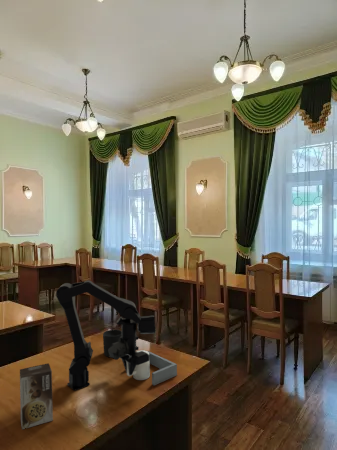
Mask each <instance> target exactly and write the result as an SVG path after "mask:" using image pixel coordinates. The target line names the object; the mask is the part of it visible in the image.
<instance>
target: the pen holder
mask: <svg viewBox="0 0 337 450" xmlns="http://www.w3.org/2000/svg"><path fill="white" fill-rule="evenodd" d="M119 337H122V330H119V329H109V330H105V331H104V332H103V333H102V343H103V345H102V346H103V354H104V356H105V357H108V358H111V357H110V354H109V352H108V349H109V348H110V346H111V344H113V343H116V342H119Z"/></svg>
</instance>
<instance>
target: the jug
mask: <svg viewBox="0 0 337 450" xmlns="http://www.w3.org/2000/svg"><path fill="white" fill-rule="evenodd" d="M140 351H143V352H145V353H147V354H148V355H149V352H150V351H149V350H148V351H149V352H148V351H147V350H144V349H143V350H136V352H140ZM126 364H127V373H126V376H128V377H132V376H133V379H135V380H137V381H144V380H147V379H149V378H150V377H151V366H150V365H151V364H150V362H149V361H148V362H145V363H142V364H140V365H136V367H135V369H134V371H133V373H132V375H129V369H128V362H127V361H126Z"/></svg>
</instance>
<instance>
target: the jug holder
mask: <svg viewBox="0 0 337 450" xmlns="http://www.w3.org/2000/svg"><path fill="white" fill-rule="evenodd" d="M148 352H149V362H150V365H151V366H154V367H156V368H158V370H156V371H153V372H151V385H152V386H156V385H158V384H160V383H163V382H165V381H167V380H169V379H172V378H174V377H176V376H178V364H177V363H175V362H173V361H171V360H169V359H167V358H165V357H162V356H159V355H158V354H156V353H153V352H151V351H150V350H148Z"/></svg>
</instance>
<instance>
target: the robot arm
mask: <svg viewBox="0 0 337 450" xmlns="http://www.w3.org/2000/svg"><path fill="white" fill-rule="evenodd" d="M85 293H87V294H89V295H90V296H92V297H94V298H96V299H98V300H99V301H101V302H103V303H105V304H107V305H108V306H110V307H112V308H113V309H114V310H115V311H116V312H117V313H118V314H119V315H120V316H119V318H118V319H117V320H116V325H121V332H122V337H119V342H116V343H113V344H111V346H110V348H109V349H108V352H109V354H110V357H109V358H112V359H113V360H115V361H117V360H119V359H120V360H121V361H122V363H123V364H122V365H123V366H124V370H125V373H126V374H127V364H126V361H127V362H128V369H129V375H131V376H133V375H132V373H133V371H134V369H135V367H136V365H140V364H142V363H145V362H148V361H149V355H148V354H147V353H145V352H143V351H140V350H139V348H140V347H139V346H137V340H139V336H138V335H137V332H139V334H140V335H148V334H152V335H153V334H156V323H155V315H154V314H153V315H143V316H141V313H140V312H139V311H138V310H137V307H136V304H135V303H134V302H133V301H132V300H130V299H126V298H123V297H120V296H119V297H118V296H116V295H114V294H112V293H111V292H109V291H108V290H107V289H105V288H103V287H101V286H99V285H98V284H96V283H94V282H93V281H91V280H90V279H89V280H85V281H80V282H74V283H69V282H65V283H62V285H60V286H59V287H58V288H57V290H56V292H55V296H56V298H57V301H58V303H59V305H60V306H61V307H62V309H63V310H64V314H65V316H66V317H65V318H66V321H67V324H68V328H69V332H70V335H71V339H72V341H73V356H74V358H72V359H71V363H70V364H69V368H68V382H67V383H66V385H67V386H68V387H69V388H70V389H72V390H73V391H75V392H76V391H78V390H80V389H83V388H86V387H89V386H90V384H91V383H90V382H89V381H90V380H89V379H90V376H89V375H90V374H89V373H90V371H89V369H88V366H90V363H91V360H92V357H93V352H94V350H93V348H92V342H91V341H88V342H87V341H86V338H85V337H84V332H83V330H82V326H81V322H80V318H79V314H78V310H77V306H76V297H77V296H79V295H82V294H85ZM136 351H140V352H136Z"/></svg>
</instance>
